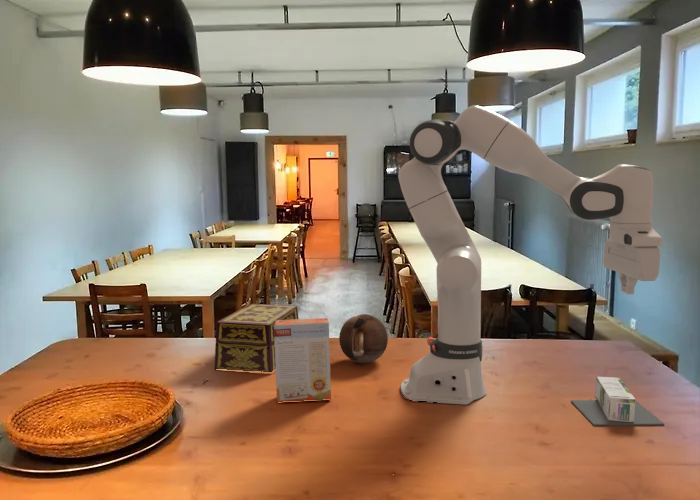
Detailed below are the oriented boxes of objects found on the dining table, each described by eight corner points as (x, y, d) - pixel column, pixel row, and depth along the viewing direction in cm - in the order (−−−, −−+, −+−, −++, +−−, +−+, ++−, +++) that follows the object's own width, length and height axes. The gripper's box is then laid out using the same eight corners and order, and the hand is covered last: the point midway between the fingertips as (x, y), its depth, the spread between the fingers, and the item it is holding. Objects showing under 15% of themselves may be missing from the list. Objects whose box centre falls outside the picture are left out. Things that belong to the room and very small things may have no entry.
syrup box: (618, 398, 146) (635, 423, 131) (593, 397, 147) (608, 421, 132) (619, 377, 145) (637, 399, 131) (595, 375, 146) (609, 397, 132)
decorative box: (251, 344, 199) (249, 302, 197) (302, 347, 195) (300, 304, 193) (213, 371, 173) (211, 322, 171) (271, 375, 168) (270, 325, 166)
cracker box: (330, 393, 153) (328, 316, 151) (331, 402, 147) (329, 322, 145) (277, 395, 152) (275, 318, 150) (276, 404, 146) (273, 324, 144)
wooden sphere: (357, 351, 189) (357, 307, 187) (396, 359, 180) (396, 313, 178) (329, 364, 177) (329, 316, 175) (370, 373, 168) (369, 323, 166)
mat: (593, 425, 131) (593, 424, 131) (571, 401, 145) (571, 400, 145) (664, 425, 131) (664, 423, 131) (634, 401, 145) (634, 399, 145)
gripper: (597, 230, 144) (595, 284, 145) (637, 239, 123) (634, 302, 125) (623, 230, 144) (620, 284, 145) (667, 239, 123) (663, 302, 125)
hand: (627, 293), depth 135 cm, fingers closed
